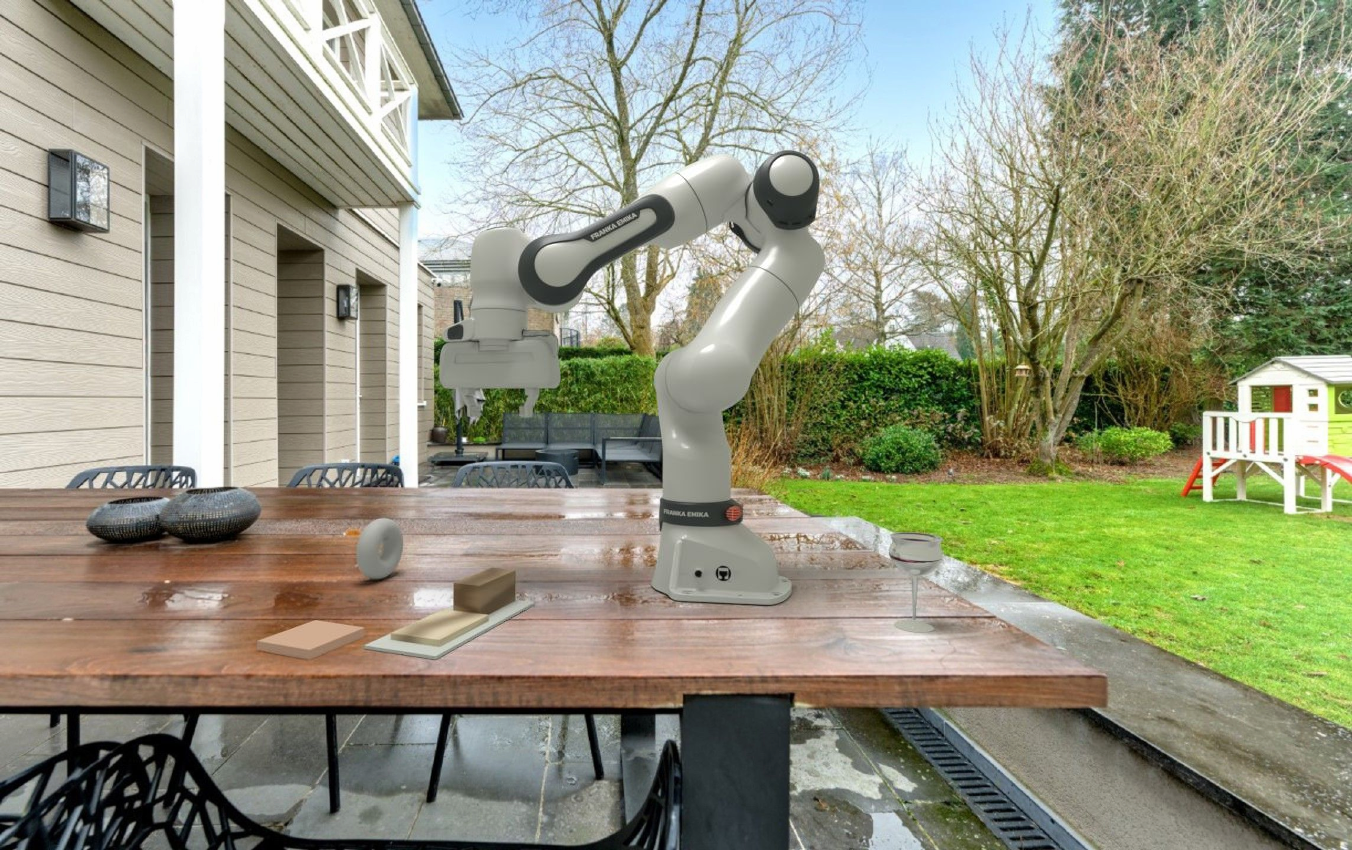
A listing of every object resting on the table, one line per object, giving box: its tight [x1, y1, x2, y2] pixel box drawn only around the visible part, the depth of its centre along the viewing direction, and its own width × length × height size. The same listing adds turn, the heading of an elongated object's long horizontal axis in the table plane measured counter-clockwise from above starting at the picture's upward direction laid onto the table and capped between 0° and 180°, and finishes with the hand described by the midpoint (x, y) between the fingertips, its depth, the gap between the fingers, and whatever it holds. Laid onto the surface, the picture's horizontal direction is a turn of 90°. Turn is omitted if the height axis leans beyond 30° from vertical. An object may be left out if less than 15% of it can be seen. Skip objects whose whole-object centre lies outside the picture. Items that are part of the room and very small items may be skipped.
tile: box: [256, 619, 366, 661], centre depth 79 cm, size 8×2×8 cm
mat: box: [363, 599, 536, 661], centre depth 86 cm, size 10×22×1 cm, turn 162°
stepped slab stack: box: [390, 567, 517, 647], centre depth 87 cm, size 7×19×4 cm, turn 162°
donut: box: [355, 517, 404, 580], centre depth 108 cm, size 10×4×10 cm, turn 170°
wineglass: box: [888, 531, 944, 633], centre depth 88 cm, size 7×7×12 cm
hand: (499, 417), depth 106 cm, fingers open, 8 cm apart
